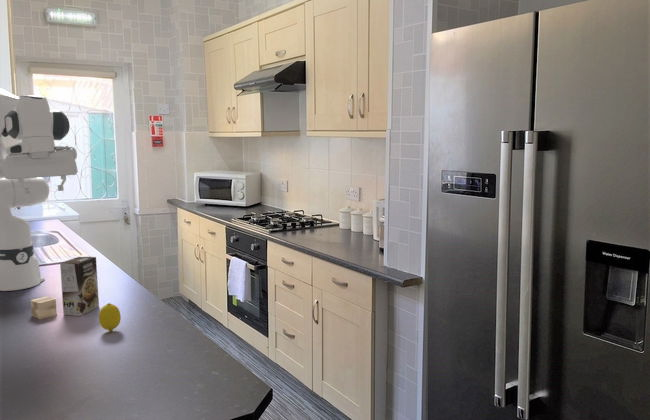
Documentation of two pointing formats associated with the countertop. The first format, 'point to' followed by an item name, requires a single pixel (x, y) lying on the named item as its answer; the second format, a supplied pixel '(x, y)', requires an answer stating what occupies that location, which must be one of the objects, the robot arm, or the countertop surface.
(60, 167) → the robot arm
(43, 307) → the beech cube
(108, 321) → the lemon
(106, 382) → the countertop surface
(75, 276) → the coffee box
